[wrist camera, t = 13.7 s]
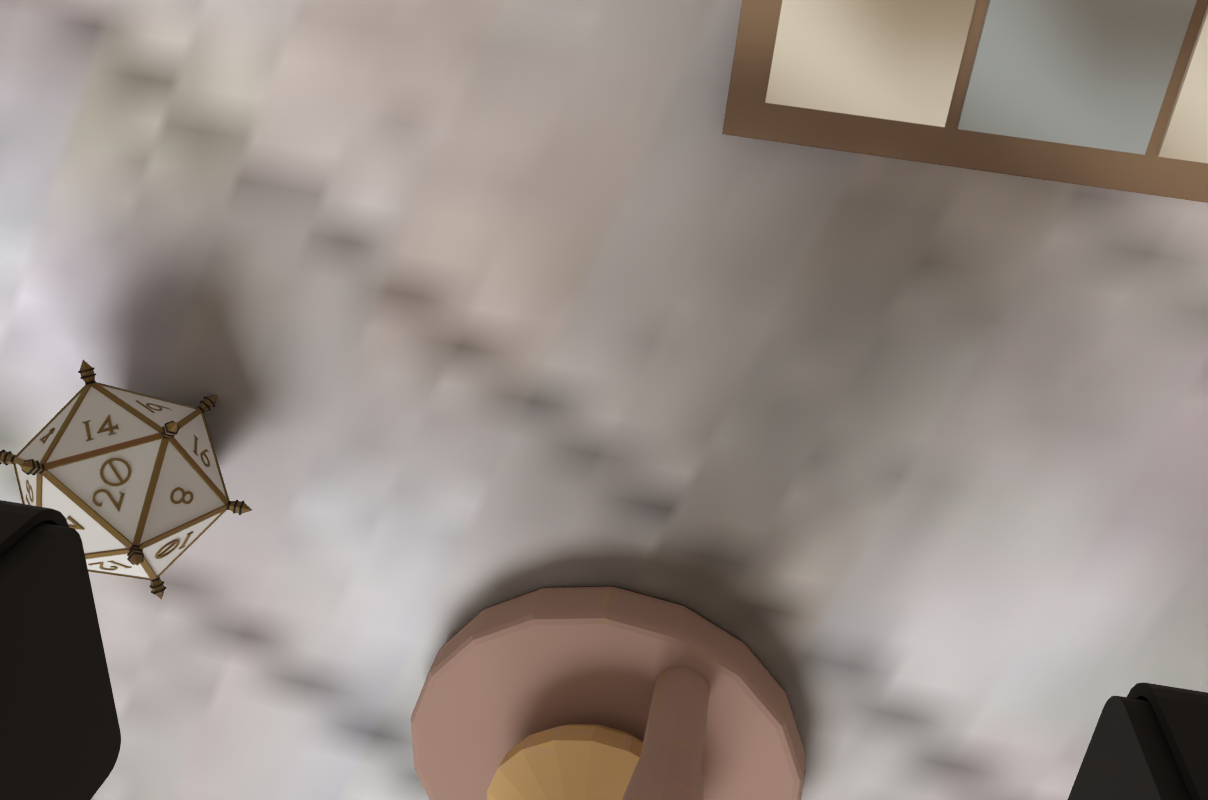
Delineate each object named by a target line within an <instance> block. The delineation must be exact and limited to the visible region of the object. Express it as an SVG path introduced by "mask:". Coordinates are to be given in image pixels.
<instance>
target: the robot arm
mask: <svg viewBox="0 0 1208 800" xmlns="http://www.w3.org/2000/svg"><path fill="white" fill-rule="evenodd" d="M120 744H121V734H120V728H119V723H118V718H117V713H116V708H115V703H114V698H113V693H112V688H111V683H110V678H109V673H108V668H107V663H106V658H105V653H104V648H103V643H102V638H101V633H100V628H99V623H98V618H97V613H96V608H95V603H94V598H93V593H92V588H91V583H90V578H89V574H88V569H87V564H86V559H85V554H84V549H83V544H82V540H81V537H80V534H79V533H78V532H77V531H76V530H75V529H73V528H70V527H69V525H68V522H67V520H66V518H65V517H64V515H63V514H62V513H61V512H60V511H57V510H54V509H51V508H45V507H39V506H32V505H26V504H20V503H14V502H7V501H1V500H0V800H90V799H91V798H92V797H93V795H94V794H95V793H96V792H97V790H98V789H99V788H100V786H101V785H102V784H103V782H104V781H105V780H106V778H107V777H108V776H109V774H110V772H111V771H112V769H113V767H114V765H115V763H116V760H117V758H118V754H119V751H120ZM1068 800H1208V693H1206V692H1199V691H1193V690H1187V689H1181V688H1174V687H1168V686H1162V685H1156V684H1149V683H1137V684H1136V685H1135V686H1134V687H1133V688H1132V689H1131V690H1130V692H1129V694H1128V696H1127V698H1126V697H1120V696H1112V697H1111V698H1109V699H1108V700H1107V702H1106V704H1105V706H1104V708H1103V710H1102V713H1101V715H1100V718H1099V721H1098V723H1097V726H1096V728H1095V731H1094V733H1093V736H1092V739H1091V741H1090V744H1089V746H1088V749H1087V751H1086V754H1085V757H1084V759H1083V762H1082V764H1081V767H1080V769H1079V772H1078V775H1077V777H1076V780H1075V782H1074V785H1073V787H1072V790H1071V793H1070V795H1069V798H1068Z"/></svg>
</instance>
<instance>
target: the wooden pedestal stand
mask: <svg viewBox="0 0 1208 800" xmlns="http://www.w3.org/2000/svg"><path fill="white" fill-rule="evenodd" d="M411 727H412V740H413V753H414V766H415V771H416V773H417V775H418V777H419V779H420V781H421V783H422V785H423V787H424V789H425V791H426V793H427V795H428V797H429V799H430V800H801V795H802V788H803V781H804V774H805V751H804V747H803V743H802V740H801V737H800V734H799V731H798V728H797V725H796V722H795V719H794V716H793V713H792V710H791V706H790V703H789V700H788V697H787V694H786V692H785V691H784V690H783V689H782V688H781V686H780V685H779V684H778V683H777V682H776V680H775V679H774V678H773V677H772V676H771V674H770V673H769V672H768V671H767V670H766V669H765V667H764V666H763V665H762V664H761V663H760V661H759V660H758V659H757V658H756V657H755V655H754V654H753V653H752V652H751V651H750V650H749V648H748V647H747V646H746V645H745V644H744V643H743V642H741V641H740V640H738V639H736V638H735V637H733V636H732V635H730V634H728V633H727V632H725V631H723V630H722V629H720V628H719V627H717V626H715V625H714V624H712V623H710V622H709V621H707V620H706V619H704V618H702V617H701V616H699V615H698V614H696V613H694V612H693V611H691V610H689V609H688V608H686V607H685V606H682V605H678V604H675V603H671V602H667V601H664V600H660V599H656V598H653V597H649V596H645V595H642V594H638V593H634V592H631V591H627V590H623V589H620V588H616V587H571V588H542V589H539V590H536V591H533V592H531V593H528V594H525V595H522V596H519V597H517V598H514V599H511V600H508V601H505V602H503V603H500V604H497V605H494V606H491V607H489V608H486V609H483V610H482V611H481V612H480V613H479V614H478V615H477V616H476V617H475V618H473V619H472V620H471V621H470V622H469V623H468V624H467V625H466V626H464V627H463V628H462V629H461V630H460V631H459V632H458V633H457V634H456V635H454V636H453V637H452V638H451V639H450V640H449V641H448V642H447V643H446V644H444V645H443V646H442V648H441V649H440V650H439V652H438V654H437V656H436V658H435V660H434V663H433V665H432V667H431V669H430V671H429V674H428V676H427V679H426V681H425V684H424V686H423V689H422V691H421V694H420V696H419V698H418V701H417V703H416V706H415V708H414V711H413V713H412V717H411Z"/></svg>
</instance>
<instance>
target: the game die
mask: <svg viewBox="0 0 1208 800" xmlns="http://www.w3.org/2000/svg"><path fill="white" fill-rule="evenodd" d="M93 369H94V368H92V367H91V366H90V365H89V364H87V363H86V362H85V361H84V360H83V362H82V365H81V368H80V371H78V373H80V374H81V376H82V377H80V378H81V379H83V380H84V381H85V384H86V385H85V386H84V387H83V388H82V389H81V390H80V391H79V392H78V393H77V394H76V395H75V396H74V397H73V398H72V399H71V400H70V401H69V402H68V403H67V404H66V405H65V406H64V407H63V408H62V409H61V410H60V411H59V412H58V413H57V414H56V415H55V416H54V417H53V418H52V420H51V421H50V422H49V423H48V424H47V425H46V426H45V427H44V428H43V429H42V430H41V431H40V432H39V433H38V434H37V435H36V436H35V437H34V438H33V439H32V440H31V441H30V442H29V443H28V444H27V445H26V446H25V447H24V448H23V449H22V450H21V451H20V452H19V453H18V454H17V455H13V454H12V453H11V452H10V451H9V452H5V450H2V451H0V464H1V463H4V464H5V465H8V464H14V468H15V473H16V477H17V481H18V486H19V490H20V494H21V499H22V503H23V504H26V505H32V506H39V507H45V508H51V509H54V510H57V511H60V512H61V513H62V514H63V515H64V517H65V518H66V520H67V522H68V525H69V527H70V528H73V529H75V530H76V531H77V532H78V533H79V534H80V537H81V540H82V544H83V549H84V554H85V559H86V564H87V569H88V571H90V572H97V573H104V574H111V575H118V576H125V577H132V578H139V579H146V580H151V585H150V588H152V591H151V593H153V594H155V595H157V596H158V597H159V598H160V599H161V600H162V596H163V593H164V590H165V589H166V587H164V585H163V583H164V581H163V582H162V581H161V580H160V575H161V574H162V573H163V572H164V571H165V570H166V569H167V568H168V567H169V566H170V565H171V564H172V563H173V562H174V561H175V560H176V559H177V558H178V557H179V556H180V555H181V554H183V553H184V552H185V551H186V550H187V549H188V548H189V547H190V546H191V545H192V544H193V543H194V542H195V541H196V540H197V539H198V538H199V537H200V536H201V535H202V534H203V533H204V532H205V531H206V530H207V529H208V528H209V527H210V526H211V525H212V524H213V523H214V522H215V521H216V520H217V519H218V518H219V517H220V516H221V515H222V514H223V513H224V512H225V511H226V510H231V511H233V513H239V515H241V514H242V513H245V512H248V511H251V510H252V509H250V508H249V507H248V506H247V505H246V504H245V503H244V501H242V502H239V501H238V500H236V501H229V497H228V494H227V491H226V487H225V484H224V481H223V477H222V474H221V471H220V467H219V464H218V461H217V457H216V454H215V451H214V447H213V444H212V441H211V437H210V434H209V431H208V427H207V424H206V421H205V417H204V412H206V411H208V410H209V411H210V410H211V408H212V407H215V400H216V396H217V395H214V396H210V397H204V400H203V401H200V405H199V406H198V407H192V406H188V405H184V404H180V403H177V402H173V401H169V400H165V399H161V398H157V397H153V396H149V395H145V394H141V393H137V392H133V391H129V390H125V389H121V388H117V387H113V386H109V385H105V384H101V383H97V382H96V381H95V375H96V374H94V371H93Z"/></svg>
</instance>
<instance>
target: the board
mask: <svg viewBox="0 0 1208 800" xmlns="http://www.w3.org/2000/svg"><path fill="white" fill-rule="evenodd" d="M722 134H726V135H733V136H740V137H747V138H754V139H761V140H769V141H776V142H783V143H790V144H797V145H804V146H811V147H818V148H825V149H832V150H839V151H846V152H853V153H860V154H868V155H875V156H882V157H889V158H896V159H903V160H910V161H917V162H924V163H931V164H938V165H945V166H952V167H959V168H967V169H974V170H981V171H988V172H995V173H1002V174H1009V175H1016V176H1023V177H1030V178H1037V179H1044V180H1051V181H1059V182H1066V183H1073V184H1080V185H1087V186H1094V187H1101V188H1108V189H1115V190H1122V191H1129V192H1136V193H1143V194H1150V195H1158V196H1165V197H1172V198H1179V199H1186V200H1193V201H1200V202H1207V203H1208V0H743V2H742V8H741V15H740V21H739V28H738V34H737V41H736V48H735V54H734V61H733V67H732V74H731V80H730V87H729V94H728V100H727V107H726V113H725V120H724V126H723V133H722Z"/></svg>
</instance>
